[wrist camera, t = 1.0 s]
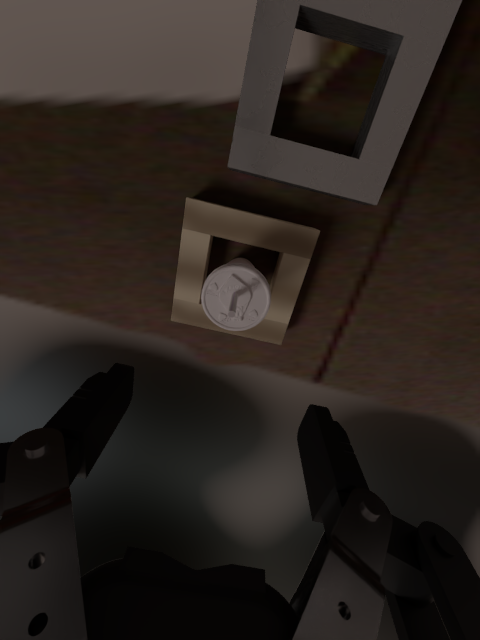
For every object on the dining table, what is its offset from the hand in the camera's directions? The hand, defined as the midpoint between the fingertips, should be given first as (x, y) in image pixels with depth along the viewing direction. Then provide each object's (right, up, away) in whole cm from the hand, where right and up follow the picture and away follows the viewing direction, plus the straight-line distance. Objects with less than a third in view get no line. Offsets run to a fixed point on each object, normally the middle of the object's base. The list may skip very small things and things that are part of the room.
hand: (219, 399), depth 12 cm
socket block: (+1, +9, +20) cm, 22 cm away
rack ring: (+9, +24, +13) cm, 29 cm away
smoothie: (+1, +10, +20) cm, 23 cm away
